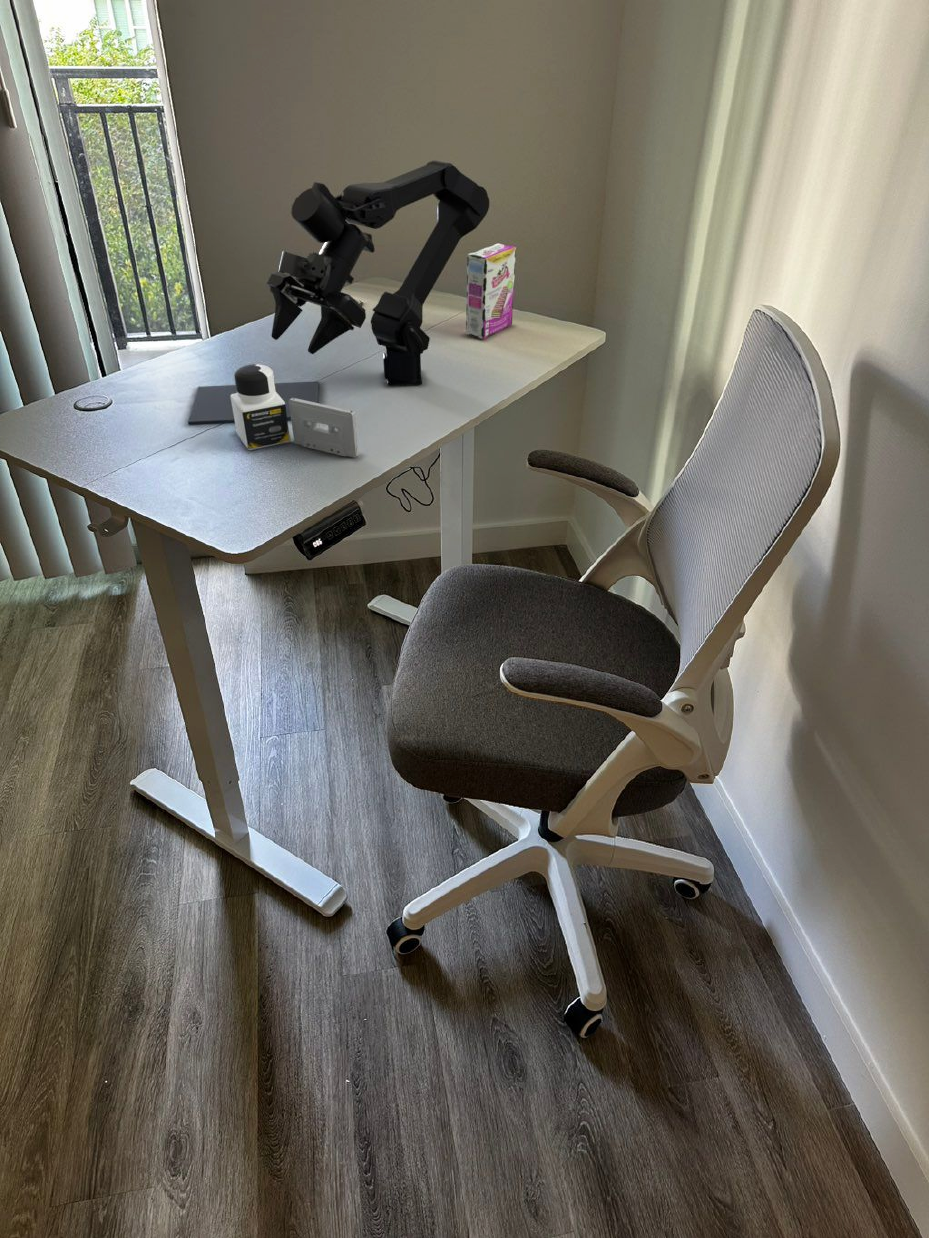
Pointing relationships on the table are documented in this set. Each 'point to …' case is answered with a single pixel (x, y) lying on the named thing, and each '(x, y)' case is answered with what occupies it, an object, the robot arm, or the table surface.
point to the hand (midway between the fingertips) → (291, 345)
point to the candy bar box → (490, 290)
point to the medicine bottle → (258, 408)
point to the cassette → (330, 439)
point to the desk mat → (216, 400)
